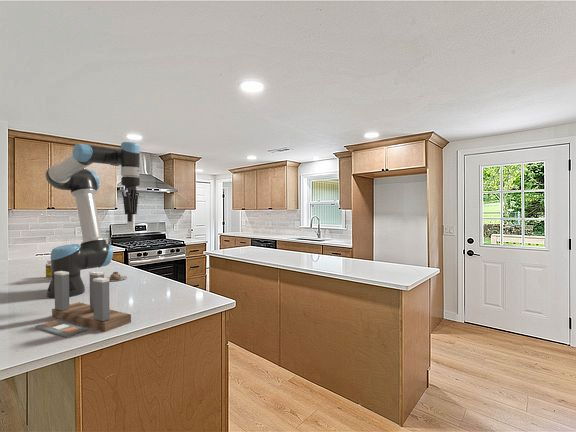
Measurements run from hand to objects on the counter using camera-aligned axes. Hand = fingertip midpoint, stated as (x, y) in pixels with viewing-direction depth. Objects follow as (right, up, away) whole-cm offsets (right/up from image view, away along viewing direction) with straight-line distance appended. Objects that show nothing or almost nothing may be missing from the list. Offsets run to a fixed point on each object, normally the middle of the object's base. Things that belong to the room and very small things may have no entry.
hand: (131, 228), depth 149 cm
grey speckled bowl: (-28, -32, +40) cm, 58 cm away
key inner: (-15, -30, -24) cm, 41 cm away
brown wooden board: (-3, -33, -26) cm, 42 cm away
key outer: (+6, -30, -35) cm, 47 cm away
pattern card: (-7, -34, -35) cm, 49 cm away
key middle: (-1, -30, -24) cm, 38 cm away
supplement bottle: (-68, -31, +43) cm, 86 cm away
